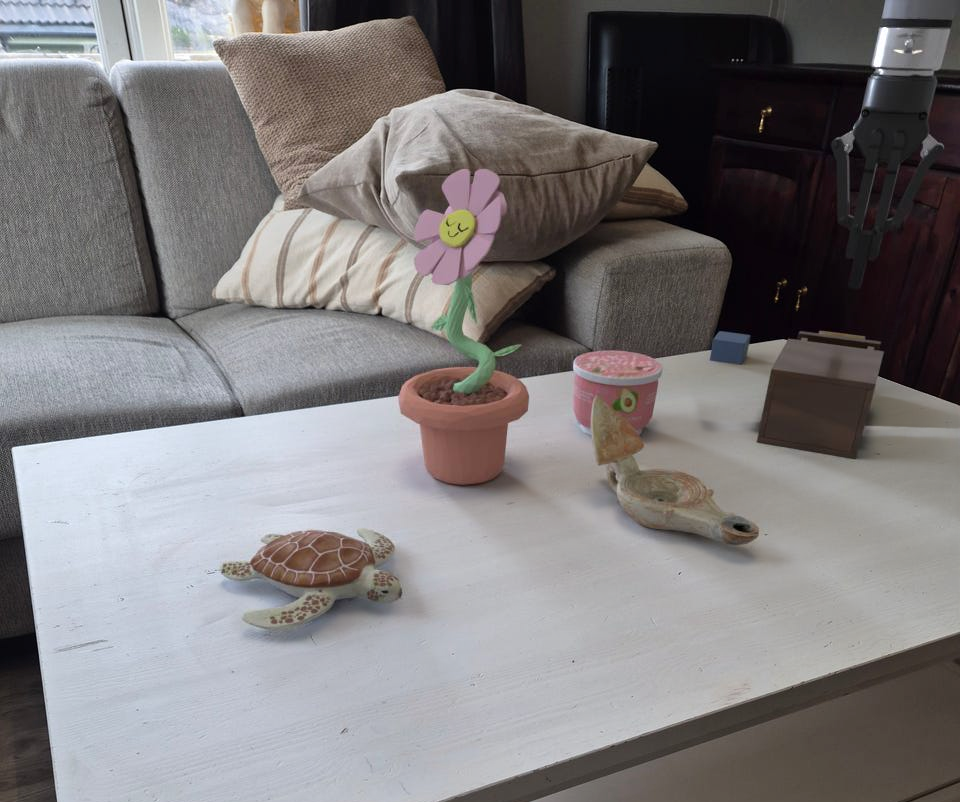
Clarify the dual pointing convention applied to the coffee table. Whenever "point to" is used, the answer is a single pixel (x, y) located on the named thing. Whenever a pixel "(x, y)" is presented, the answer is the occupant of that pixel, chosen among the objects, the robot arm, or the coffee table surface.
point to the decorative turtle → (317, 573)
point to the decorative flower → (463, 342)
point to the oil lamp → (659, 486)
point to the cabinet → (819, 397)
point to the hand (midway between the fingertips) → (854, 286)
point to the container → (616, 386)
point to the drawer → (839, 339)
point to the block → (730, 347)
